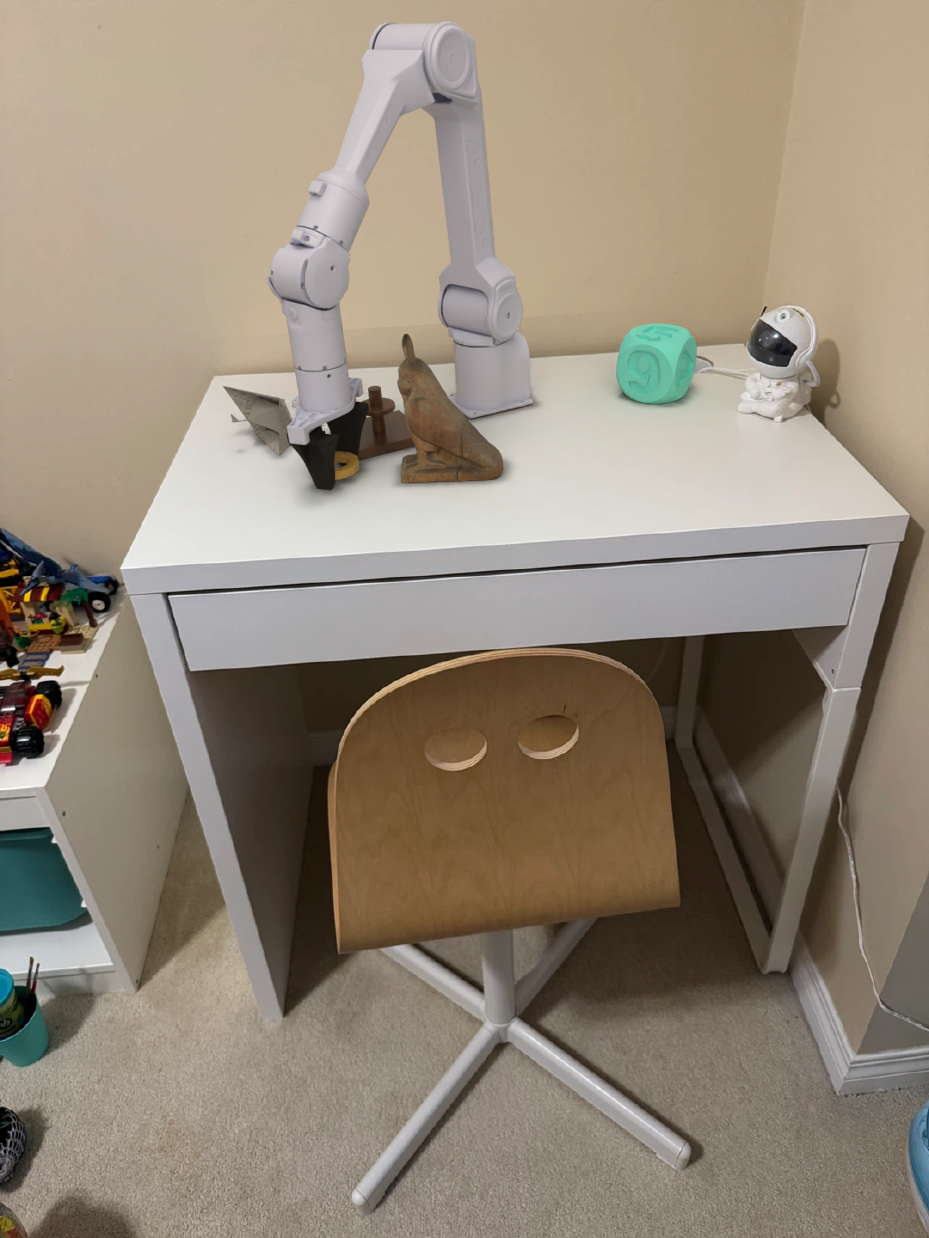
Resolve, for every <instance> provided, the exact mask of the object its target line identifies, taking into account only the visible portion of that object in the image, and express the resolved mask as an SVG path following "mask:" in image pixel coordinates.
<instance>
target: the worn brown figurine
mask: <svg viewBox="0 0 929 1238" xmlns="http://www.w3.org/2000/svg"><path fill="white" fill-rule="evenodd" d="M401 348H402V352H403V355H404V359H403V360H402V362H401V363H400V364H399V366H398V369H397V372H398V379H397V381H396V384H397V388H398V391H399V394H400V395H401V398H402V403H403V409H404V411H403V414H404V415H405V421H406V426H407V429H408V431H409V433H410V435H411V437H412V440H413V442H414V444H415V446H414V448H415V450H416V451H415V452H416V453H413V454H412V453H411V454H406V455H404V456H402V460H401V469H400V470H401V471H400V477H401V479H400V480H401V483H406V484H408V483H409V484H410V483H423V484H424V483H432V482H444V483H445V482H448V483H449V482H457V483H459V482H468V481H470V482H471V481H473V482H475V481H488V480H495V479H498V478H500V476H501V475H502V474H503V471H504V459H503V456H502V453H501V452H500V450H499V449H498V448H497V447H496V446H495V445H494V444H492V443H491V442H489V441H488V439H487V438H486V437H485V436H484V435H482V433H481V432H480V431H479V430H478V429H477V428H476V427H475V426H474V424H472V422H471V420H469V418H468V417H467V416H466V415H464V414H463V413H462V412H461V411H460V410H459V409H458V408H457V407H456V406H455V405H454V404H453V403H452V401H451V400H450V399H449V398H448V397H447V395H448V394H447V392H446V391H445V389H444V388H443V386H442V385H441V383H440V381H439V380H438V378H437V377H436V375H435V373H434V371H433V370H432V368H431V367H430V366H429V364H427V363H426V362H425V360H423V359H421V358H419V357H416V355H415V354H416V353H415V349H414V348H415V347H414V344H413V340H412V338H411V336H410V335H409V333H404V334H403V336H402V338H401Z"/></svg>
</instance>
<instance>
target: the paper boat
mask: <svg viewBox="0 0 929 1238" xmlns="http://www.w3.org/2000/svg"><path fill="white" fill-rule="evenodd" d="M222 387H223V389H224V390H225V392H226V393H227V395H228V396H229V397H230V399H231V400H232V401H233V403H234V404H235V405H236V407H237V408H238V410H239V412H240V413H241V414H242V415H243V417H244V418H245V419H241V420H239V419H238V418H237V417H236V416H234V415H233V414H232V413H230V417H231V422H232V423H234V424H235V423H241V422H248V424H249V425H250V426H251V427H252V429H253V430H254V432H255V433H256V435H257V436H258V437H259V438H260V439H261V440H262V441H263V442H264V443H265V444H266V445H267V446H268V447H270V448H271V449H272V451H274V452H275V453H276V454H277V455H278V456H281V455H282V454H283V453H284V451H286V450H287V449H288V448H289V447H290V446H291V445H290V444H289V443H288V440H287V433H288V431H287V426H288V425H289V424H290V423H291V422H292V420H293V417H292V415H291V413H290V411H289V407H288V405H287V402H286V400H285V399H284V398H280V397H276V396H272V395H267V394H262V393H258V392H254V391H248V390H245V389H239V388H234V387H230V386H225V385H222Z"/></svg>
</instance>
